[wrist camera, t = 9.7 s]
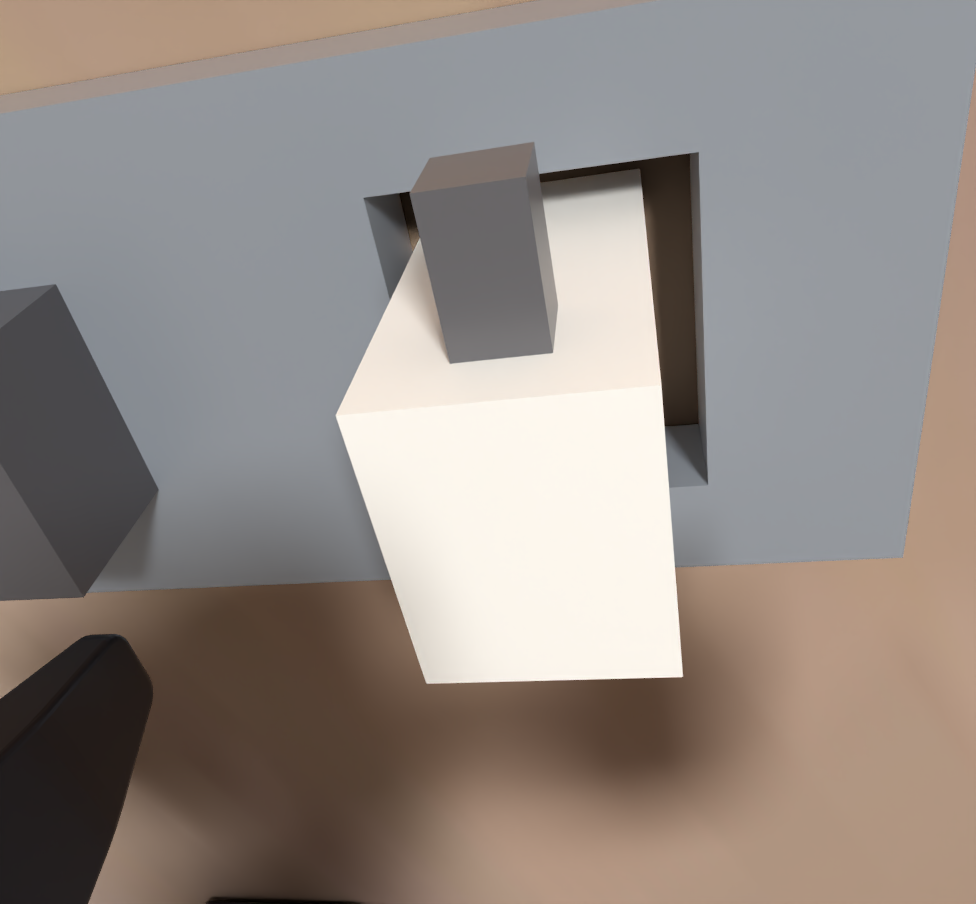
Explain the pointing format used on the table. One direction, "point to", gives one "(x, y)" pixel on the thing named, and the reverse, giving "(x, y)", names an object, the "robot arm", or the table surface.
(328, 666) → the table surface
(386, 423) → the plug
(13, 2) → the table surface
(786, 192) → the gray block with hole
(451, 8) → the table surface
